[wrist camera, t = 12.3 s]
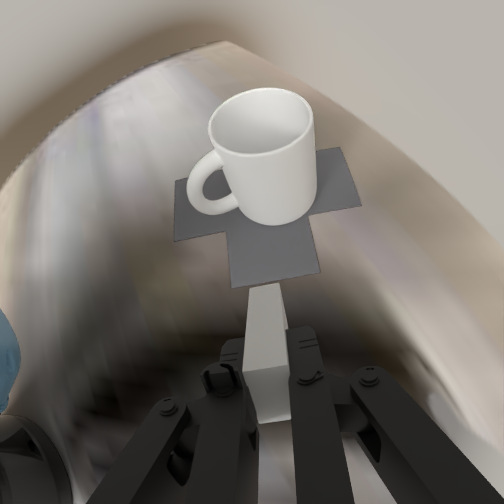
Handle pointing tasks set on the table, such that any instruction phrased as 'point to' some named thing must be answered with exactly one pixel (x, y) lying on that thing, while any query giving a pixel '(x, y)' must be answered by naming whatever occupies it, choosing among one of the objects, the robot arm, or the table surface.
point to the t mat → (265, 236)
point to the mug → (260, 157)
